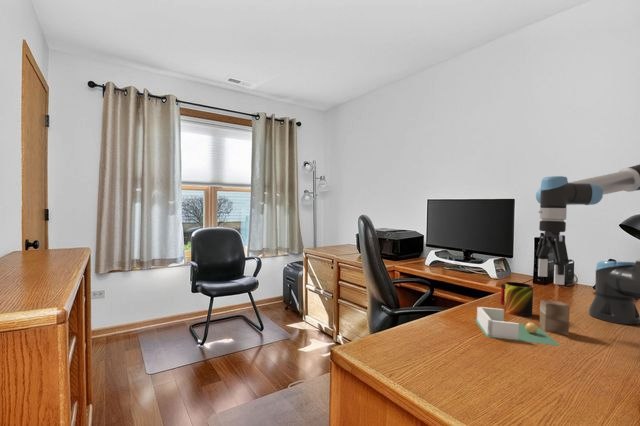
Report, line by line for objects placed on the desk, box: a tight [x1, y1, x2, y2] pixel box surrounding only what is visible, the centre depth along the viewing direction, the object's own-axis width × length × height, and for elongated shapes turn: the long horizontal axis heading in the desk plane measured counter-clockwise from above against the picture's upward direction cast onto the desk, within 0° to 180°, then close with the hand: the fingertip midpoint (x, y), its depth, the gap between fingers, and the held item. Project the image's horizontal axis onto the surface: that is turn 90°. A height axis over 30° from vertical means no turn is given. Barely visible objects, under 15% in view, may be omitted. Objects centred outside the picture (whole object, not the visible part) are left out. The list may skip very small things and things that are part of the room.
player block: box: [539, 299, 570, 336], centre depth 111 cm, size 7×5×10 cm, turn 76°
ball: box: [525, 321, 538, 333], centre depth 107 cm, size 4×4×4 cm
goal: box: [476, 306, 520, 341], centre depth 110 cm, size 9×16×5 cm, turn 165°
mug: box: [500, 281, 534, 318], centre depth 131 cm, size 10×14×12 cm
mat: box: [474, 318, 562, 347], centre depth 109 cm, size 21×18×1 cm
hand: (550, 280), depth 113 cm, fingers open, 13 cm apart
